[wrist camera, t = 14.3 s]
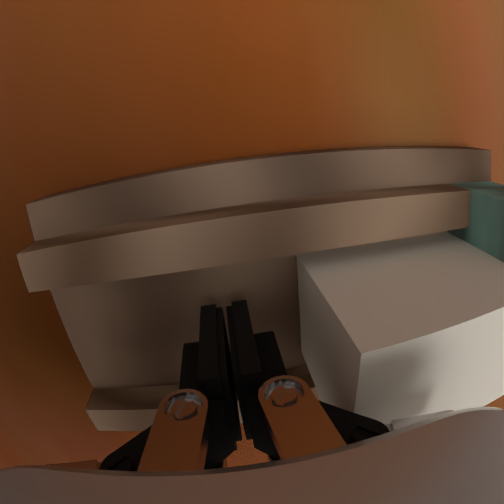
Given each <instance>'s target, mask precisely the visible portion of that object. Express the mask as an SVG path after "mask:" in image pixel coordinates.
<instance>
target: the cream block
mask: <svg viewBox="0 0 504 504" xmlns="http://www.w3.org/2000/svg"><path fill="white" fill-rule="evenodd" d="M296 257H297V273H298V290H299V308H300V329H301V352H302V354H303V357H304V359H305V362H306V364H307V367H308V369H309V372H310V374H311V377H312V379H313V382H314V385H315V387H316V390H317V392H318V395H319V397H320V400H321V401H322V402H325V403H327V404H330V405H333V406H336V407H339V408H341V409H344V410H347V411H350V412H353V413H356V414H359V415H362V416H365V417H369V418H372V419H375V420H377V421H380V422H382V423H383V424H390V423H391V420H395V419H402V418H408V417H414V416H420V415H425V414H431V413H436V412H440V411H445V410H454V411H457V410H462V409H466V408H476V407H483V406H485V405H487V404H489V403H490V402H492V401H494V400H496V399H497V398H499V397H501V396H502V395H504V262H502V261H500V260H499V259H497V258H495V257H493V256H491V255H490V254H488V253H486V252H484V251H482V250H480V249H479V248H477V247H475V246H473V245H471V244H469V243H467V242H465V241H464V240H462V239H460V238H458V237H456V236H454V235H452V234H450V233H448V232H441V233H435V234H428V235H422V236H416V237H410V238H403V239H397V240H391V241H384V242H378V243H371V244H365V245H358V246H352V247H345V248H339V249H332V250H326V251H319V252H313V253H306V254H299V255H296Z"/></svg>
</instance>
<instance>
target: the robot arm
mask: <svg viewBox="0 0 504 504" xmlns="http://www.w3.org/2000/svg"><path fill="white" fill-rule="evenodd" d="M231 303H232V306H226V312H227V322H228V332H229V342H230V347H229V342H228V336H227V331H226V326H225V320H224V315H223V309H222V307H219V308H217V307H216V304H212V305H204V306H201V308H200V329H199V341H198V342H190V343H184V345H183V353H182V363H181V374H180V385H179V390H177V391H173V392H171V393H170V394H168V395H166V396H165V397H164V398H163V399H162V400H161V402H160V404H159V406H158V409H157V412H156V415H155V418H154V421H153V424H152V425H151V426H150V427H148V428H147V429H146V430H144V431H143V432H141V433H140V434H139V435H137V436H136V437H134V438H133V439H132V440H130V441H129V442H127V443H126V444H124V445H123V446H121V447H120V448H119V449H117V450H116V451H114V452H113V453H111V454H110V455H108V456H107V457H106V458H105V459H104V460H103V462H98V461H97V460H88V461H79V462H70V463H58V464H47V465H21V466H14V467H8V468H4V469H1V470H0V504H504V409H501V408H497V407H476V408H466V409H462V410H457V411H454V410H445V411H440V412H436V413H431V414H425V415H420V416H414V417H408V418H402V419H395V420H391V423H390V424H383V423H382V422H380V421H377V420H375V419H372V418H369V417H365V416H362V415H359V414H356V413H353V412H350V411H347V410H344V409H341V408H339V407H336V406H333V405H330V404H327V403H325V402H322V401H319V400H317V398H316V397H315V395H314V393H313V392H312V390H311V389H310V387H309V386H308V384H307V383H306V382H305V381H304V380H302V379H300V378H298V377H295V376H289V375H287V372H286V369H285V366H284V363H283V360H282V356H281V353H280V350H279V347H278V344H277V341H276V337H275V334H274V332H273V331H268V332H262V333H256V334H253V329H252V324H251V320H250V315H249V311H248V306H247V301H246V300H240V301H233V302H231ZM236 393H237V394H236ZM237 398H238V402H239V407H240V412H241V416H242V421H243V425H244V430H245V434H246V439H247V440H249V439H253V443H254V447H255V448H256V449H258V450H260V451H262V452H264V453H266V454H267V456H268V460H269V462H265V463H259V464H252V465H244V466H236V467H227V459H226V458H227V457H228V456H229V455H230V454H231V453H232V452H233V451H234V450H237V445H236V441H241V440H242V435H241V427H240V419H239V411H238V402H237Z"/></svg>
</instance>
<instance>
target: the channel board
mask: <svg viewBox="0 0 504 504" xmlns="http://www.w3.org/2000/svg"><path fill="white" fill-rule="evenodd" d="M26 208H27V212H28V217H29V221H30V225H31V229H32V233H33V236H34V240H35V242H33V243H32V244H30V245H29V246H27V247H26V248H25V249H23V250H22V251H20V252H19V253H17V254H16V256H17V259H18V262H19V265H20V268H21V272H22V275H23V277H24V280H25V283H26V286H27V289H28V292H29V293H30V292H37V291H45V290H50V291H51V294H52V297H53V299H54V302H55V305H56V307H57V310H58V312H59V315H60V318H61V320H62V323H63V325H64V327H65V330H66V332H67V335H68V337H69V339H70V341H71V344H72V346H73V348H74V350H75V353H76V355H77V357H78V359H79V361H80V363H81V365H82V367H83V370H84V372H85V374H86V376H87V378H88V380H89V382H90V383H91V385H92V387H93V390H92V393H91V396H90V398H89V401H88V404H87V406H86V409H85V410H86V412H87V414H88V415H89V417H90V419H91V420H92V422H93V423H94V425H95V426H96V428H97V430H98V431H144V430H146V429H147V428H148V427H150V426H151V425H152V424H153V421H154V418H155V415H156V412H157V409H158V406H159V404H160V402H161V400H162V399H163V398H164V397H165V396H166V395H168V394H170V393H171V392H173V391H177V390H179V385H180V374H181V363H182V353H183V345H184V343H190V342H198V341H199V329H200V308H201V306H204V305H212V304H216V307H217V308H219V307H222V309H223V315H224V320H225V326H226V331H227V336H228V342H229V332H228V322H227V312H226V306H232V303H231V302H233V301H240V300H246V301H247V306H248V311H249V315H250V320H251V324H252V329H253V334H256V333H262V332H268V331H273V332H274V334H275V337H276V341H277V344H278V347H279V350H280V353H281V356H282V360H283V363H284V366H285V369H286V372H287V375H289V376H295V377H298V378H300V379H302V380H304V381H305V382H306V383H307V384H308V386H309V387H310V389H311V390H312V392H313V393H314V395H315V397H316V398H317V400H319V401H321V400H320V397H319V395H318V392H317V390H316V387H315V385H314V382H313V379H312V377H311V374H310V372H309V369H308V367H307V364H306V362H305V359H304V357H303V354H302V352H301V329H300V308H299V290H298V273H297V257H296V255H299V254H306V253H313V252H319V251H326V250H332V249H339V248H345V247H352V246H358V245H365V244H371V243H378V242H384V241H391V240H397V239H403V238H410V237H416V236H422V235H428V234H435V233H441V232H448V233H450V234H452V235H454V236H456V237H458V238H460V239H462V240H464V241H465V242H467V243H469V244H471V245H473V246H475V247H477V248H479V249H480V250H482V251H484V252H486V253H488V254H490V255H491V256H493V257H495V258H497V259H499V260H500V261H502V262H504V185H501V184H498V183H494V182H491V150H486V149H480V148H473V147H447V146H395V147H364V148H344V149H328V150H314V151H302V152H291V153H281V154H271V155H262V156H253V157H245V158H237V159H230V160H222V161H215V162H208V163H202V164H195V165H189V166H183V167H177V168H171V169H166V170H160V171H155V172H150V173H144V174H139V175H134V176H129V177H125V178H120V179H115V180H111V181H106V182H102V183H97V184H93V185H89V186H85V187H80V188H76V189H72V190H68V191H64V192H61V193H57V194H53V195H49V196H46V197H42V198H40V199H38V200H35V201H33V202H31V203H28V204H26ZM229 347H230V342H229ZM236 394H237V393H236ZM237 402H238V398H237ZM238 411H239V419H240V423H243V421H242V416H241V412H240V407H239V402H238Z"/></svg>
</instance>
